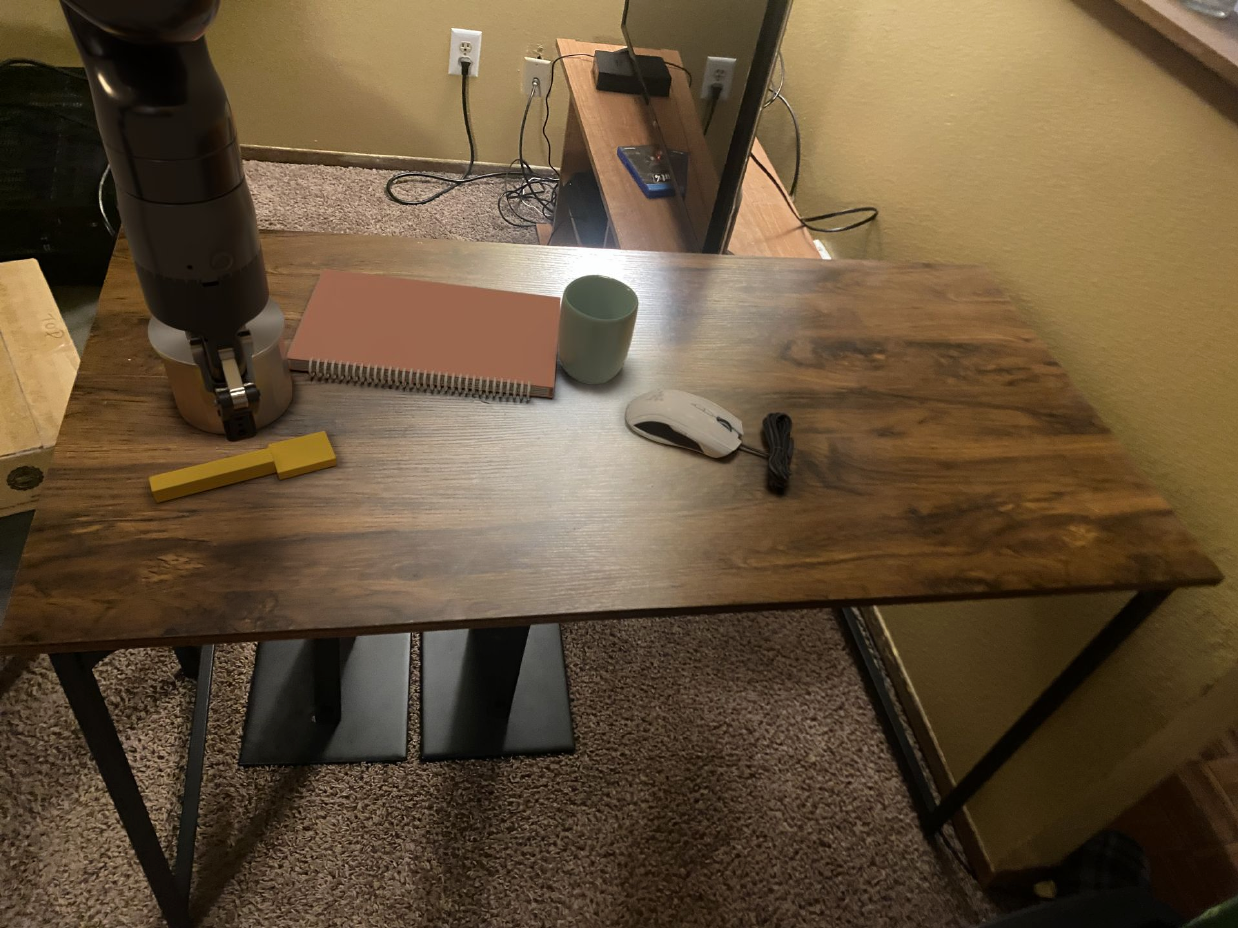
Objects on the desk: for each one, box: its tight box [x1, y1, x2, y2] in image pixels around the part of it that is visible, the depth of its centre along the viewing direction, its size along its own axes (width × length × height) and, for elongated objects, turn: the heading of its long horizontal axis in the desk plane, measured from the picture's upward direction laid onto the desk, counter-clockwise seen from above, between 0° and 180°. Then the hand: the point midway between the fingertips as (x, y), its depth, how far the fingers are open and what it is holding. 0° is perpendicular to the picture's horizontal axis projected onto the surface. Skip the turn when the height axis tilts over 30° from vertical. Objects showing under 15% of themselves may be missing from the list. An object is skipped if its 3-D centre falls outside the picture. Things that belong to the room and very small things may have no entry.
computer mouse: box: [624, 388, 795, 489], centre depth 86 cm, size 10×18×4 cm, turn 75°
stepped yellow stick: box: [148, 430, 338, 504], centre depth 75 cm, size 15×4×2 cm, turn 119°
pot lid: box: [147, 297, 287, 369], centre depth 75 cm, size 11×11×5 cm
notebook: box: [286, 268, 562, 401], centre depth 91 cm, size 27×17×2 cm, turn 91°
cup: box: [557, 274, 640, 385], centre depth 89 cm, size 8×8×10 cm
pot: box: [160, 336, 293, 435], centre depth 79 cm, size 10×10×8 cm
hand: (241, 433), depth 65 cm, fingers closed
